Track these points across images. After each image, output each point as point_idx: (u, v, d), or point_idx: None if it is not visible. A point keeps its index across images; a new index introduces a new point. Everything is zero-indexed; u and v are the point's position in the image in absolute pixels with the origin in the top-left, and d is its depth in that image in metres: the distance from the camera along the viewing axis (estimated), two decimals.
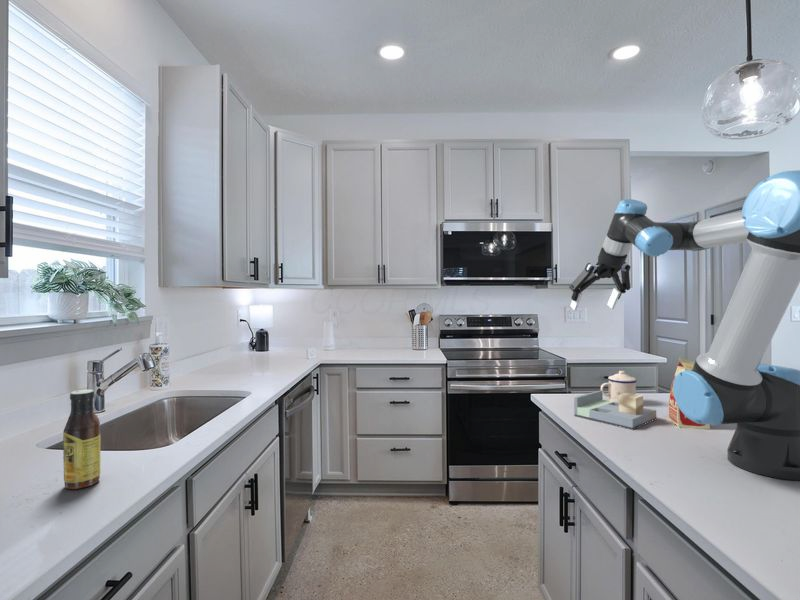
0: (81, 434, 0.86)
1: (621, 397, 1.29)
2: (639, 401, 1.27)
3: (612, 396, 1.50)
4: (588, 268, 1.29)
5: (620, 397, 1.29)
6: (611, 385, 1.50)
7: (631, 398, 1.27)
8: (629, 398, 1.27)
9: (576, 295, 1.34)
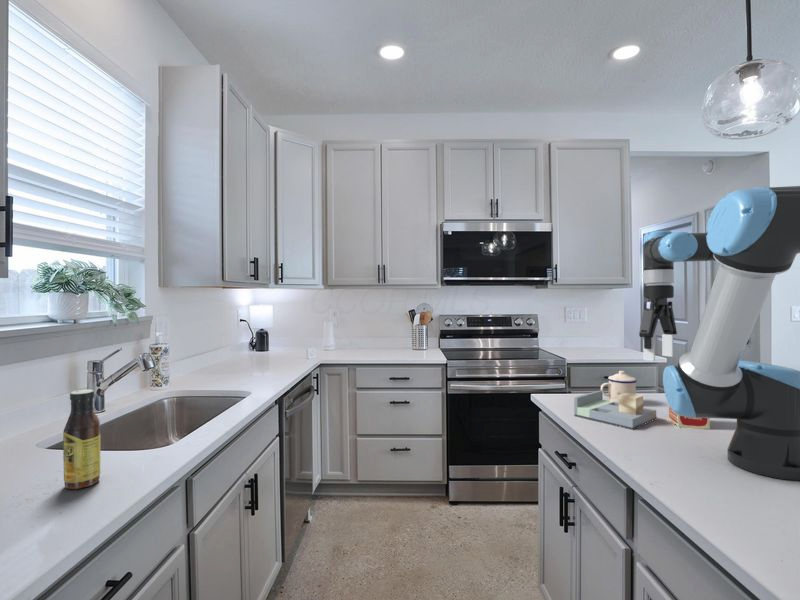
0: (81, 434, 0.86)
1: (621, 397, 1.29)
2: (639, 401, 1.27)
3: (612, 396, 1.50)
4: (649, 306, 1.18)
5: (620, 397, 1.29)
6: (611, 385, 1.50)
7: (631, 398, 1.27)
8: (629, 398, 1.27)
9: (650, 341, 1.18)
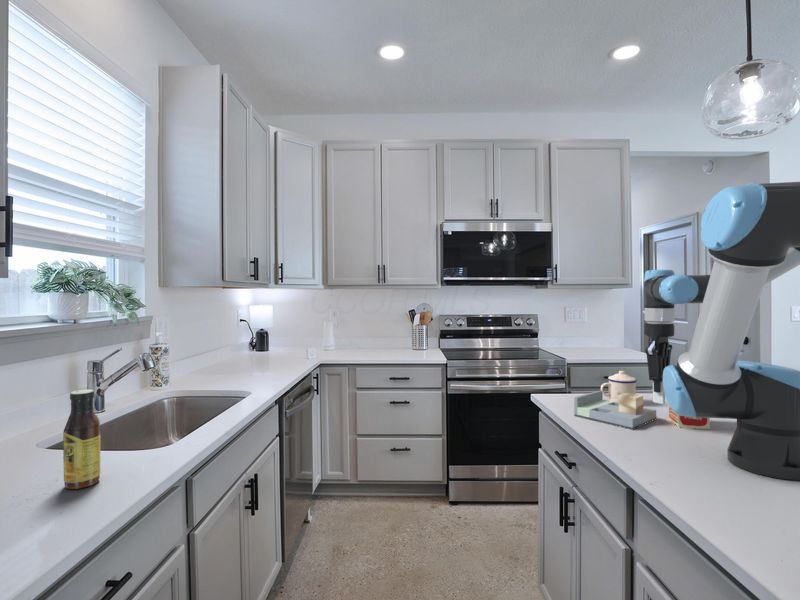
0: (81, 434, 0.86)
1: (621, 397, 1.29)
2: (639, 401, 1.27)
3: (612, 396, 1.50)
4: (651, 353, 1.19)
5: (620, 397, 1.29)
6: (611, 385, 1.50)
7: (631, 398, 1.27)
8: (629, 398, 1.27)
9: (659, 385, 1.22)
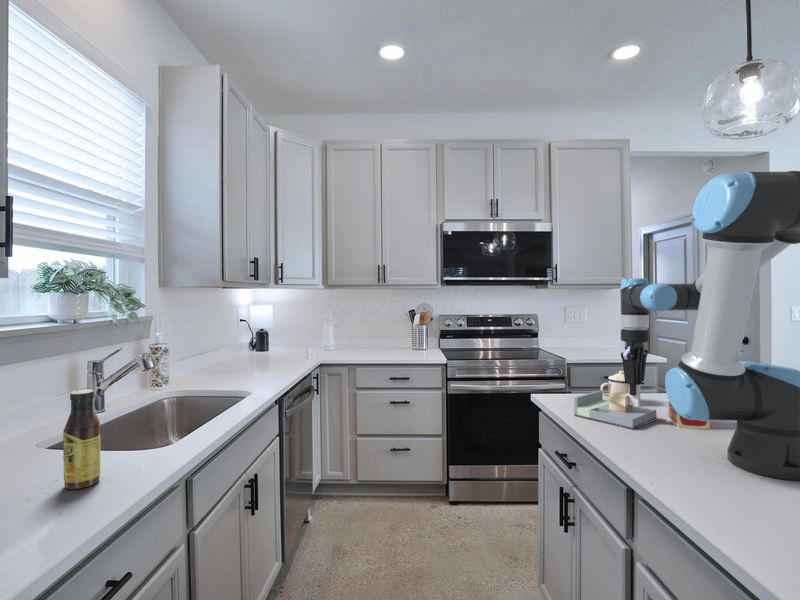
0: (81, 434, 0.86)
1: (611, 395, 1.32)
2: None
3: None
4: (626, 357, 1.25)
5: (610, 395, 1.32)
6: (611, 385, 1.50)
7: (621, 396, 1.29)
8: (619, 396, 1.30)
9: (634, 388, 1.27)
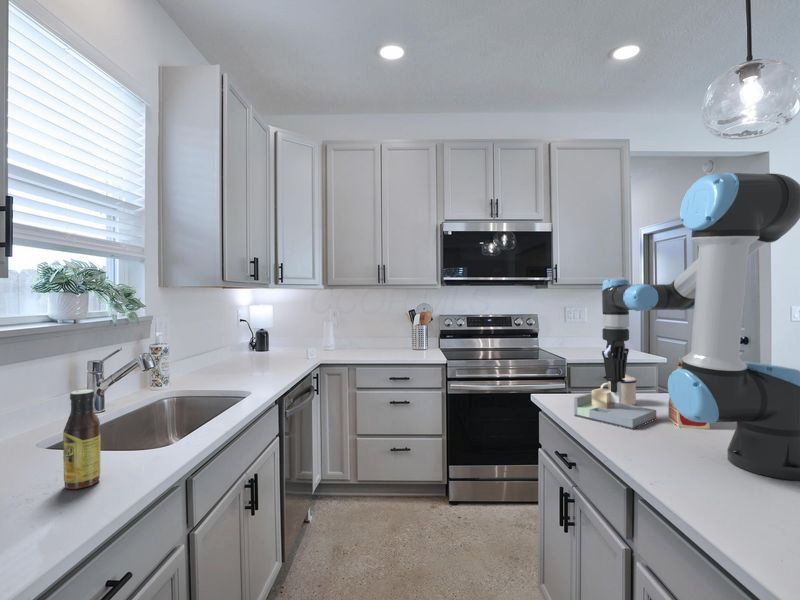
0: (81, 434, 0.86)
1: (594, 392, 1.36)
2: None
3: None
4: (607, 356, 1.29)
5: (593, 392, 1.36)
6: None
7: (602, 393, 1.34)
8: (601, 393, 1.34)
9: (615, 385, 1.32)
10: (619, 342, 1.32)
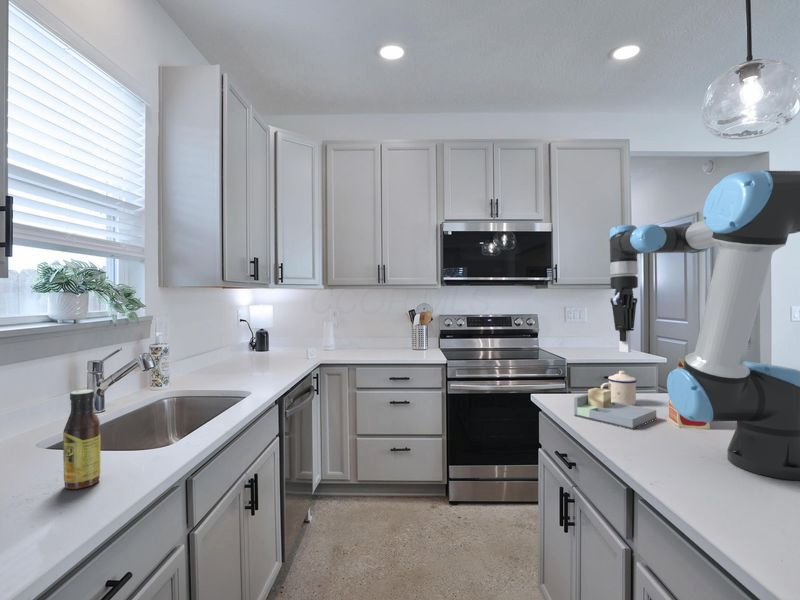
0: (81, 434, 0.86)
1: (590, 391, 1.37)
2: (607, 395, 1.35)
3: (612, 396, 1.50)
4: (616, 302, 1.27)
5: (589, 391, 1.37)
6: (611, 385, 1.50)
7: (599, 392, 1.35)
8: (597, 392, 1.35)
9: (624, 334, 1.29)
10: (628, 290, 1.30)
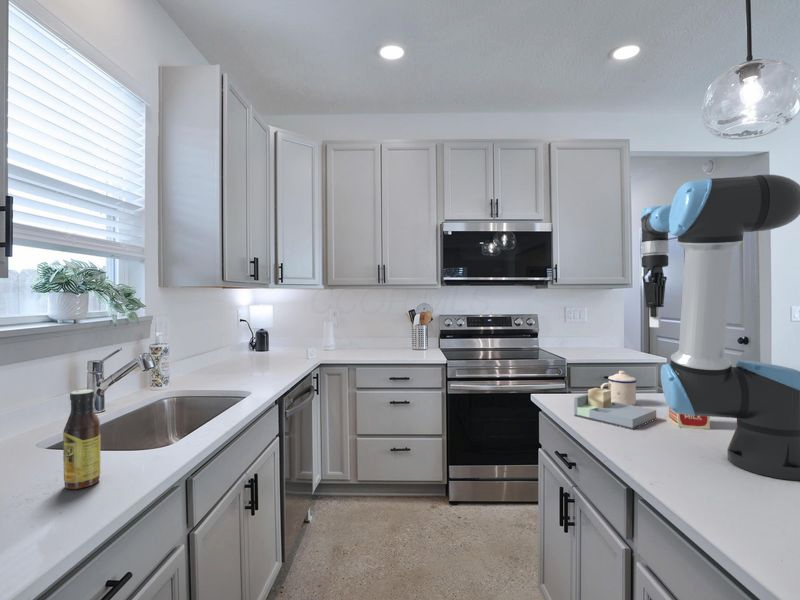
0: (81, 434, 0.86)
1: (590, 391, 1.37)
2: (607, 395, 1.35)
3: (612, 396, 1.50)
4: (647, 280, 1.33)
5: (589, 391, 1.37)
6: (611, 385, 1.50)
7: (599, 392, 1.35)
8: (597, 392, 1.35)
9: (655, 310, 1.36)
10: (658, 268, 1.36)
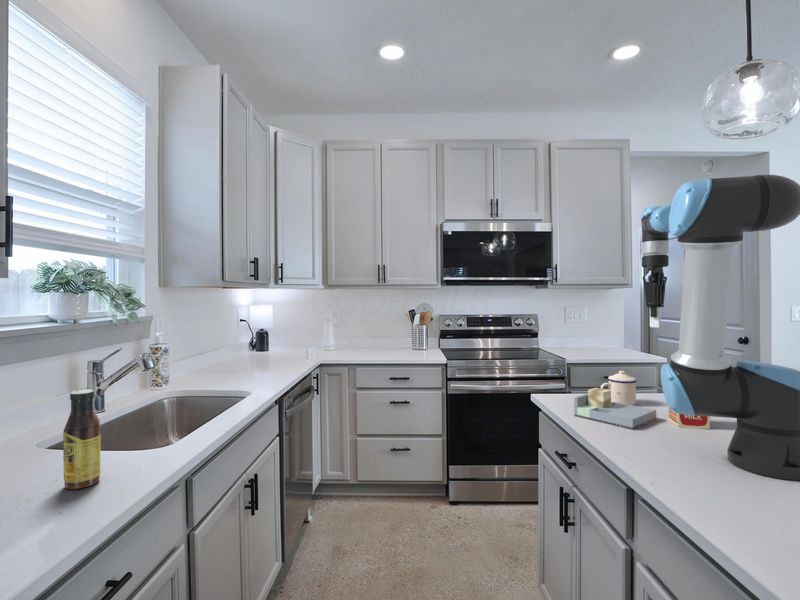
0: (81, 434, 0.86)
1: (590, 391, 1.37)
2: (607, 395, 1.35)
3: (612, 396, 1.50)
4: (648, 280, 1.33)
5: (589, 391, 1.37)
6: (611, 385, 1.50)
7: (599, 392, 1.35)
8: (597, 392, 1.35)
9: (655, 310, 1.36)
10: (658, 268, 1.36)
